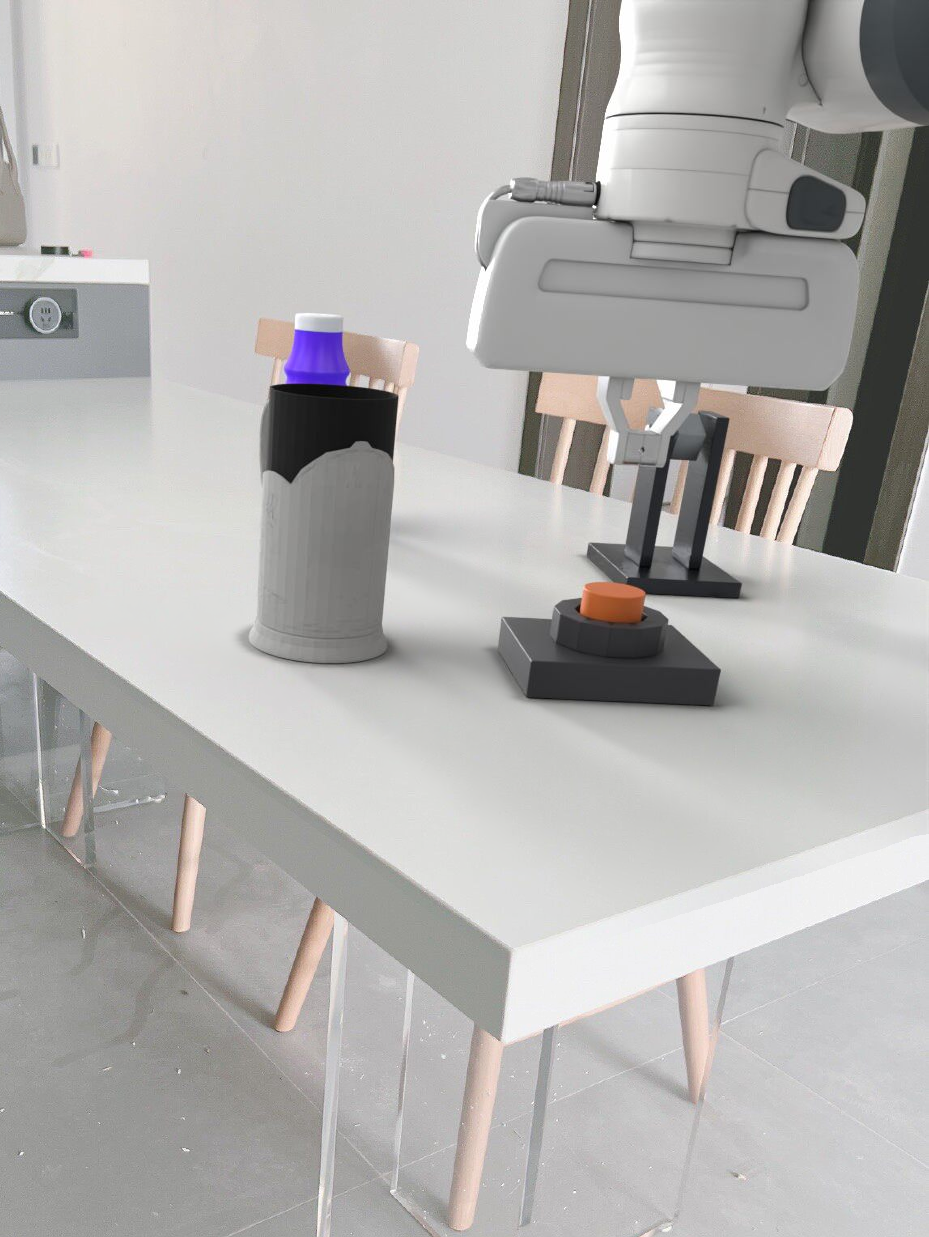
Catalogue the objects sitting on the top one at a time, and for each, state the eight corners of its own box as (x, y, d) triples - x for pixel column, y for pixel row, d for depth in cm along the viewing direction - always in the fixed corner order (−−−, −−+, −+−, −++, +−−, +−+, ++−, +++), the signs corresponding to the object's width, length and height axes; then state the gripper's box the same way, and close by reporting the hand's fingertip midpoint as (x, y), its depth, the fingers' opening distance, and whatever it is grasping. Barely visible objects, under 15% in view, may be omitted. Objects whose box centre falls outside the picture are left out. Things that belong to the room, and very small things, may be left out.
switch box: (665, 657, 78) (677, 596, 77) (713, 706, 70) (728, 638, 68) (497, 649, 77) (505, 588, 76) (525, 697, 69) (535, 629, 68)
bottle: (314, 533, 105) (327, 317, 98) (259, 522, 108) (268, 311, 101) (356, 521, 111) (371, 316, 104) (303, 511, 114) (314, 311, 107)
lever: (621, 354, 103) (629, 328, 101) (679, 358, 103) (688, 332, 101) (651, 458, 94) (660, 432, 92) (714, 462, 95) (724, 436, 93)
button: (631, 611, 74) (635, 583, 73) (648, 628, 71) (653, 599, 70) (572, 608, 74) (577, 580, 73) (587, 625, 70) (592, 596, 70)
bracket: (586, 556, 104) (610, 399, 99) (688, 561, 105) (718, 406, 99) (625, 592, 93) (654, 419, 88) (739, 598, 94) (775, 426, 89)
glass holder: (283, 668, 71) (297, 399, 65) (197, 603, 83) (202, 370, 76) (412, 656, 75) (437, 401, 69) (313, 596, 86) (327, 373, 80)
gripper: (494, 170, 59) (461, 462, 65) (898, 202, 61) (831, 485, 66) (472, 176, 65) (444, 444, 70) (842, 206, 66) (785, 466, 72)
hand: (634, 464), depth 68 cm, fingers closed
